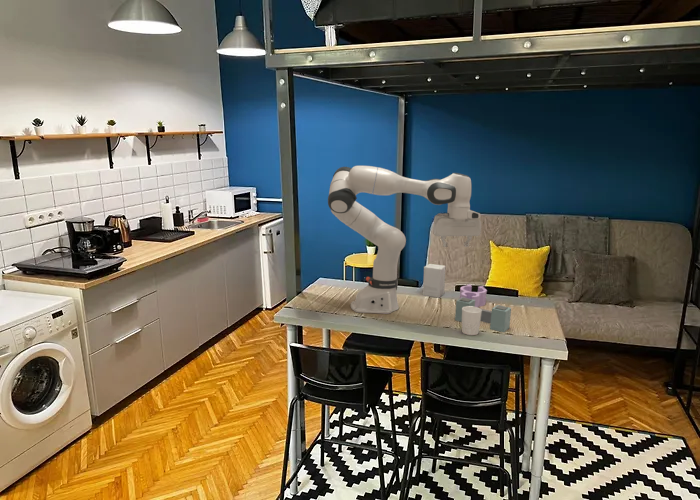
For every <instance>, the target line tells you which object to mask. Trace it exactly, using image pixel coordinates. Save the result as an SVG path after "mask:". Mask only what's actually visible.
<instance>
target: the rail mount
mask: <svg viewBox="0 0 700 500" xmlns="http://www.w3.org/2000/svg"><path fill="white" fill-rule="evenodd" d="M466 306H473V307H475V300H473V299H468V298H463V297H462V298H460V297H459V298H458V299H457V300H456V303H455V314H454V315H455V316H454V321H457V322H460V323H462V308H463V307H466ZM480 309H481V310H482V313H481V321H480V322H483V323H487V324H490V326H489V330H492V331H497V332H501V333H505V332H507V331H508V330H509V329H510V326H511V325H510V324H511V315H512V314H511V313H512V307H509V306H505V305H499V304H497V305H495V306H494V307H492V308H491V310H489V309H484V308H480Z"/></svg>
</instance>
